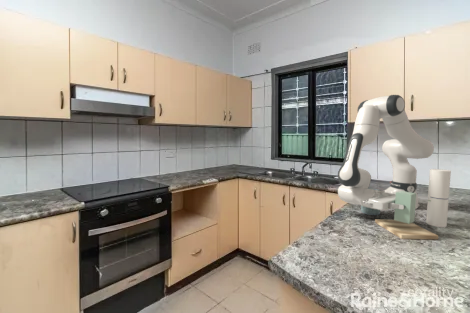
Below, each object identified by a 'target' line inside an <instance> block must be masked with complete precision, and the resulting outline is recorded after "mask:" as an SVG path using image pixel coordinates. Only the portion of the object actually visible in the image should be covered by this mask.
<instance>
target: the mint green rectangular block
mask: <svg viewBox="0 0 470 313" xmlns="http://www.w3.org/2000/svg"><path fill="white" fill-rule="evenodd" d="M395 204H402V205H405V209H394V212H393V213H394V215H393V216H394V217H393V220H396V221H400V222H404V223H408V224H410V223H414V222H415V217H416V216H415V215H416V209H415V205H416V193H412V192H406V191H399V192H396V198H395Z"/></svg>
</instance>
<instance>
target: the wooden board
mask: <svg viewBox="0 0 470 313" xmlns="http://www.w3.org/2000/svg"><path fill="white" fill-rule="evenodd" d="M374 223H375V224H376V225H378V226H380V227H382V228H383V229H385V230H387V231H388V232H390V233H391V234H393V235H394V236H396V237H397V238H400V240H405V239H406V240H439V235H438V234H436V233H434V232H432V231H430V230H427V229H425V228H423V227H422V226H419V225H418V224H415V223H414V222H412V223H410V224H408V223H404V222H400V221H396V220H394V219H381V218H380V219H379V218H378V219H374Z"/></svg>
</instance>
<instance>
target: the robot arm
mask: <svg viewBox="0 0 470 313" xmlns="http://www.w3.org/2000/svg"><path fill="white" fill-rule="evenodd" d="M405 107H406V102H405V100H404V98H403V97H402V96H401V95H399V94H391V95H384V96H378V97H374V98H371V99H366V100H363V101H362V102H360V103H359V105H358V107H357V114H356V118H355V122H354V126H353V131H352V135H351V136H350V138H349V141H348V144H347V146H346V147H347V148H346V150H345V154H344V159H343V162H342V164H341V166H340V168H339V169H338V171H337V179H338V182H339V183H340V184H341V185H340V186H338V189H337V196H338V198H339V199H340V200H341V201H343V202H345V203H348V204H351V205H355V206H360V207H361V206H363V207H367V208H372V209H378V210H380V211H382V212H383V211H388V210H391V209H393V210H395V209H405V205H402V204H395V198H396V192H399V191H406V192H412V193H416V205H415V210H416V209H418V208H419V207H420V206H421V205H420V203H419V196H418V191H417V189H418V188H417V187H418V183H417V175H418V174H417V173H418V172H417V169H416V168H417V167H415V166H414V165H412V164H410V162H409V160H408V159H412V160H413V159H416V160H418V159H428V158H429V157H431V156H432V155H433V153H434V148H435V147H434V144H433V142H432V141H430V139H426V138H424V137H423V136H421V135H420V134H418V133H417V132H416V131H415V130H414V128H413V127H412V124H411V122H410V120H409V117H408V115H407V113H406V110H405ZM380 120H382V122H383V124H384V128H385V131H386V132H387V135H388V136H389V137H390V138H392V139H387V140H385V141H384V142H383V144H382V145H381V146H382V148H381V150H382V153H383V154H384V155H385V156H386V157H387V158H388V159H389V161H390V163H391V166H392V167H391V168H392V180H391V181H389V183H390V185H389V187H387V188H385V189H384V190H381V189H378V190H373V189H374V188H370V185H371V183H372V175H371V173H370V172H369V171H368V170H366V169H364V168H360V167H359V160H360V157H361V152H362V150H363V148H365V146H369V145H371V144H372V143H374V142H375V141H376V140H377V139H378V136H379V131H380V124H381V121H380ZM368 188H370V189H368Z"/></svg>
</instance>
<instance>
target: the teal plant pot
mask: <svg viewBox="0 0 470 313" xmlns="http://www.w3.org/2000/svg"><path fill="white" fill-rule="evenodd" d="M368 189H371V188H370V187H369V188H368ZM372 189H373V190H379V189H378V188H377V189H376V188H372ZM360 212H361V213H363V214H365V215H370V216H379V215H380V214H381V210H378V209H372V208H367V207H363V206H361V205H360Z"/></svg>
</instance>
